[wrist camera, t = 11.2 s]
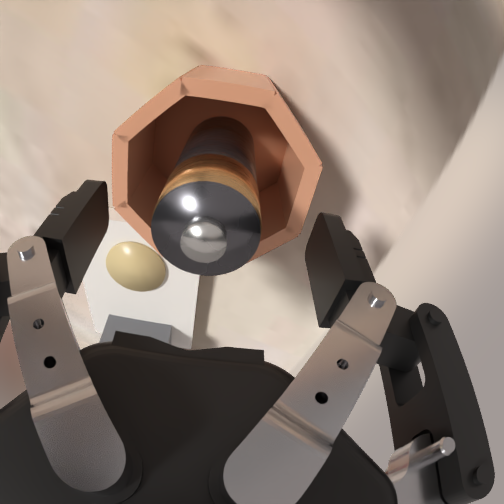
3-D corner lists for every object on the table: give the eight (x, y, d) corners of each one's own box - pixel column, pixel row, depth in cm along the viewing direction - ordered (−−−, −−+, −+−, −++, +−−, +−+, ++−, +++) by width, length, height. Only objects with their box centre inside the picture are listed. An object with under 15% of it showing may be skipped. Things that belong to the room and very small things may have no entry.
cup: (153, 60, 15) (116, 72, 11) (313, 86, 17) (341, 108, 12) (142, 198, 21) (115, 251, 17) (276, 218, 23) (285, 275, 18)
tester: (79, 203, 21) (44, 252, 17) (207, 221, 23) (197, 278, 18) (99, 321, 30) (83, 368, 25) (192, 337, 31) (186, 388, 27)
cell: (192, 110, 17) (147, 183, 9) (261, 122, 17) (275, 204, 10) (183, 172, 19) (145, 278, 12) (247, 182, 20) (249, 293, 12)
